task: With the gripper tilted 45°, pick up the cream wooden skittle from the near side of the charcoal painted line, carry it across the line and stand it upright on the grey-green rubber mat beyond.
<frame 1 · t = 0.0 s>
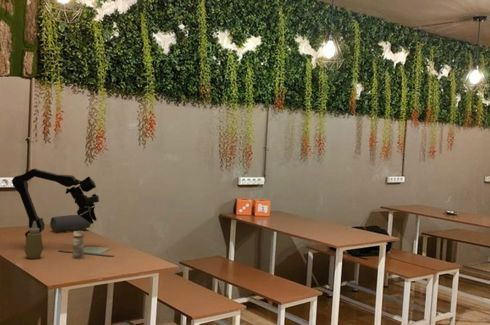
hand: (94, 222, 278), 15 cm above the table, tool tilted 35°, fingers open, 9 cm apart
skittle: (77, 257, 260), on the table
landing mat: (93, 250, 277), on the table
squeeze bottle: (33, 258, 255), on the table
throw line: (86, 253, 268), on the table
bluetooth speaker: (70, 231, 325), on the table
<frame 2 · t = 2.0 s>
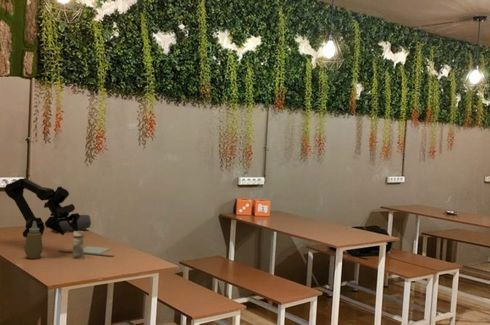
hand: (70, 233, 262), 11 cm above the table, tool tilted 45°, fingers open, 9 cm apart
nothing on the table moved.
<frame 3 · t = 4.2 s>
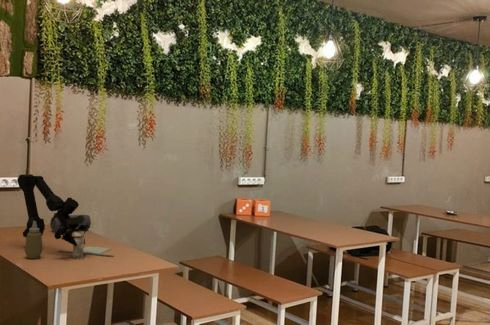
hand: (80, 244, 259), 7 cm above the table, tool tilted 45°, fingers closed on skittle, 5 cm apart
skittle: (78, 257, 260), on the table, touching gripper
everything else where it was.
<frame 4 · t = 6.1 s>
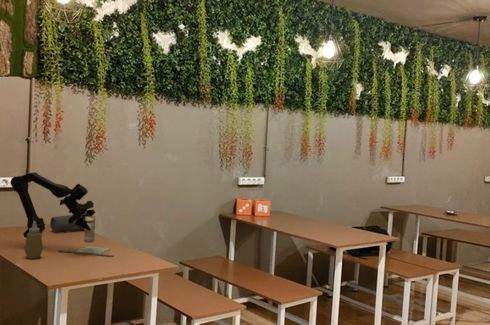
hand: (92, 229, 268), 13 cm above the table, tool tilted 45°, fingers closed on skittle, 5 cm apart
skittle: (89, 241, 269), point 6 cm above the table, touching gripper
everything else where it was.
when the fingers open (8 cm above the table, at t = 8.1 s): skittle drops 1 cm, resting on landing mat.
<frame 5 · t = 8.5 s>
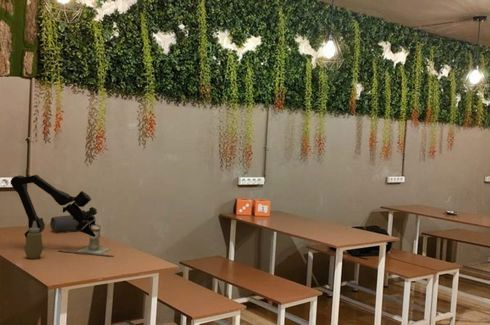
hand: (96, 234, 276), 9 cm above the table, tool tilted 45°, fingers open, 9 cm apart
skittle: (93, 249, 277), point 1 cm above the table, touching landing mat
everything else where it was.
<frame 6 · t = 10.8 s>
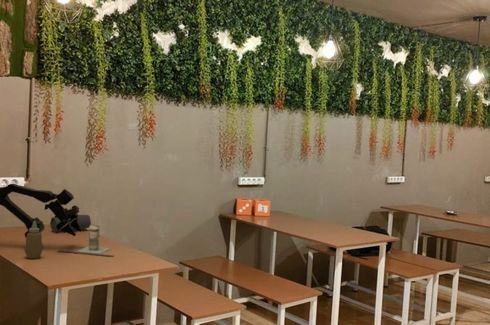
hand: (78, 233, 276), 9 cm above the table, tool tilted 40°, fingers open, 9 cm apart
nothing on the table moved.
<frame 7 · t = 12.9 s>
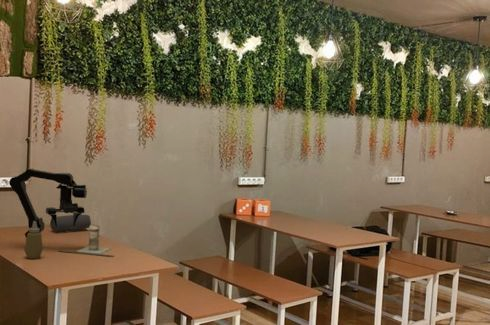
hand: (64, 226, 276), 12 cm above the table, tool pointing down, fingers open, 9 cm apart
nothing on the table moved.
at the end: skittle 0.0 cm from the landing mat (horizontally); skittle tilted 0°; the gripper is holding nothing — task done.
